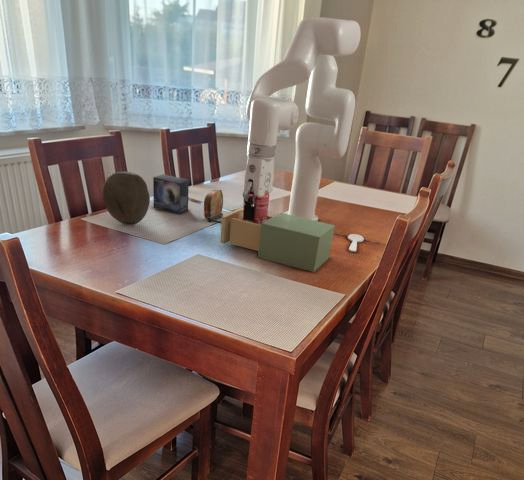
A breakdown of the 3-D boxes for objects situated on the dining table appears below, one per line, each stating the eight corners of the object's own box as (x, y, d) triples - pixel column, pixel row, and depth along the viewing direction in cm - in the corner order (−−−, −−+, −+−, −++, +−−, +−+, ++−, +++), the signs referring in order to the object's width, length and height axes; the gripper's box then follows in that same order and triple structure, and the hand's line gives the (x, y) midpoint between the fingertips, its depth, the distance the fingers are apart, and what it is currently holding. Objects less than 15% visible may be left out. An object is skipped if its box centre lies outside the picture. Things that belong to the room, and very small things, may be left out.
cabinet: (257, 257, 134) (261, 222, 129) (276, 244, 146) (280, 212, 140) (313, 272, 129) (319, 237, 124) (328, 258, 140) (335, 225, 135)
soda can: (268, 232, 142) (273, 187, 135) (260, 239, 136) (265, 192, 129) (246, 228, 143) (250, 183, 137) (237, 234, 138) (240, 188, 131)
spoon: (343, 250, 148) (343, 248, 147) (348, 234, 163) (349, 232, 163) (360, 253, 147) (361, 251, 147) (364, 237, 162) (364, 235, 162)
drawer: (201, 238, 140) (202, 211, 136) (222, 228, 150) (224, 203, 146) (268, 256, 133) (272, 228, 129) (285, 244, 144) (289, 218, 140)
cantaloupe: (160, 225, 149) (160, 175, 141) (120, 232, 139) (118, 179, 132) (133, 213, 156) (132, 165, 149) (94, 219, 147) (90, 168, 139)
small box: (152, 208, 164) (151, 176, 159) (162, 204, 169) (162, 173, 164) (179, 214, 161) (179, 182, 156) (188, 210, 166) (189, 179, 161)
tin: (210, 223, 157) (212, 197, 152) (201, 221, 157) (202, 195, 153) (223, 212, 169) (224, 187, 165) (214, 210, 170) (216, 186, 165)
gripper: (260, 157, 120) (253, 226, 129) (286, 150, 134) (278, 213, 143) (233, 152, 122) (228, 220, 131) (262, 145, 136) (255, 208, 145)
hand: (254, 216), depth 137 cm, fingers closed on soda can, 7 cm apart
